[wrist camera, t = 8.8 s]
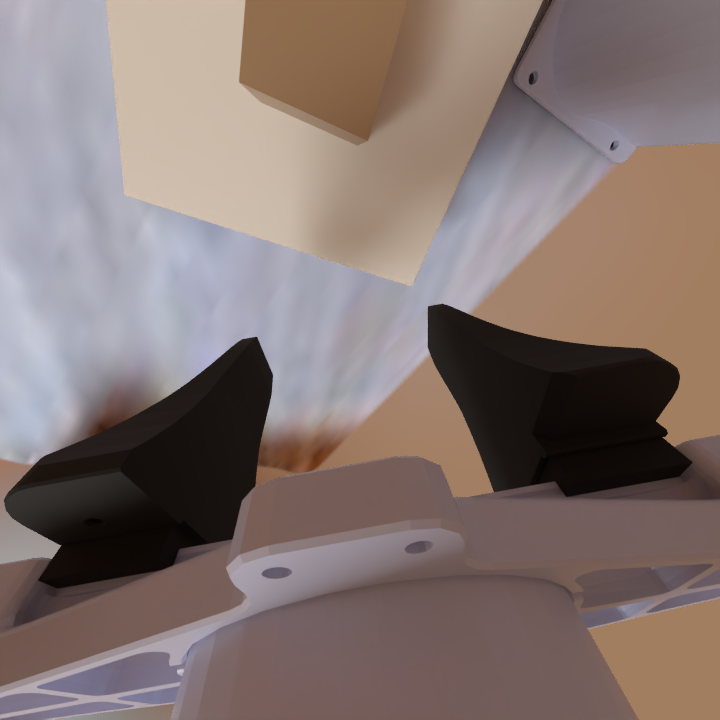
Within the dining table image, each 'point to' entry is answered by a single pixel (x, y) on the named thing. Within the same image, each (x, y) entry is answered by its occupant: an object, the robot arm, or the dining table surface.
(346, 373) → the dining table surface
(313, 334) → the dining table surface
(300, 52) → the lid
